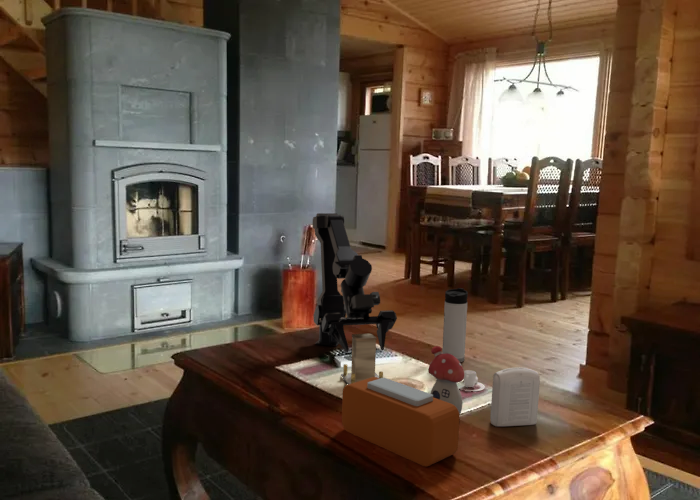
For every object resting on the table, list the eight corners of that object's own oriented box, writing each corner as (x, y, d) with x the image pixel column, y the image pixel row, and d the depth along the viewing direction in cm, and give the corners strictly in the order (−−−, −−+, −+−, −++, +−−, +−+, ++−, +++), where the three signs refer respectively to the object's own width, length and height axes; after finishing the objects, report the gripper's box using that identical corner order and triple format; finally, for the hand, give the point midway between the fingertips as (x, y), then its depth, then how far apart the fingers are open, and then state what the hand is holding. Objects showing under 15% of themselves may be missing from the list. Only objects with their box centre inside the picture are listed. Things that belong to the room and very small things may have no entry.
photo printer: (530, 417, 147) (533, 363, 145) (539, 425, 143) (543, 370, 141) (487, 421, 144) (490, 366, 143) (495, 428, 140) (499, 372, 139)
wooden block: (350, 376, 169) (351, 334, 167) (370, 375, 170) (371, 333, 169) (355, 381, 165) (356, 338, 163) (375, 380, 166) (376, 337, 165)
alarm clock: (458, 457, 127) (461, 400, 125) (430, 470, 121) (433, 411, 120) (368, 419, 144) (370, 368, 142) (340, 429, 138) (342, 377, 137)
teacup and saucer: (466, 379, 172) (467, 364, 172) (493, 387, 167) (493, 371, 166) (446, 386, 166) (447, 371, 166) (472, 395, 161) (473, 379, 160)
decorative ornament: (421, 408, 150) (424, 344, 148) (447, 405, 153) (450, 342, 151) (441, 424, 142) (444, 356, 140) (468, 421, 144) (471, 354, 142)
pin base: (340, 376, 171) (341, 364, 170) (374, 374, 173) (374, 361, 173) (350, 388, 162) (350, 375, 162) (385, 386, 165) (385, 373, 164)
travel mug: (468, 358, 189) (471, 289, 186) (459, 364, 184) (462, 293, 181) (448, 354, 192) (451, 286, 190) (438, 360, 187) (441, 290, 184)
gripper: (325, 281, 165) (335, 336, 156) (395, 279, 170) (409, 332, 161) (317, 305, 174) (326, 358, 165) (385, 303, 179) (397, 354, 170)
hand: (365, 350), depth 165 cm, fingers open, 9 cm apart
